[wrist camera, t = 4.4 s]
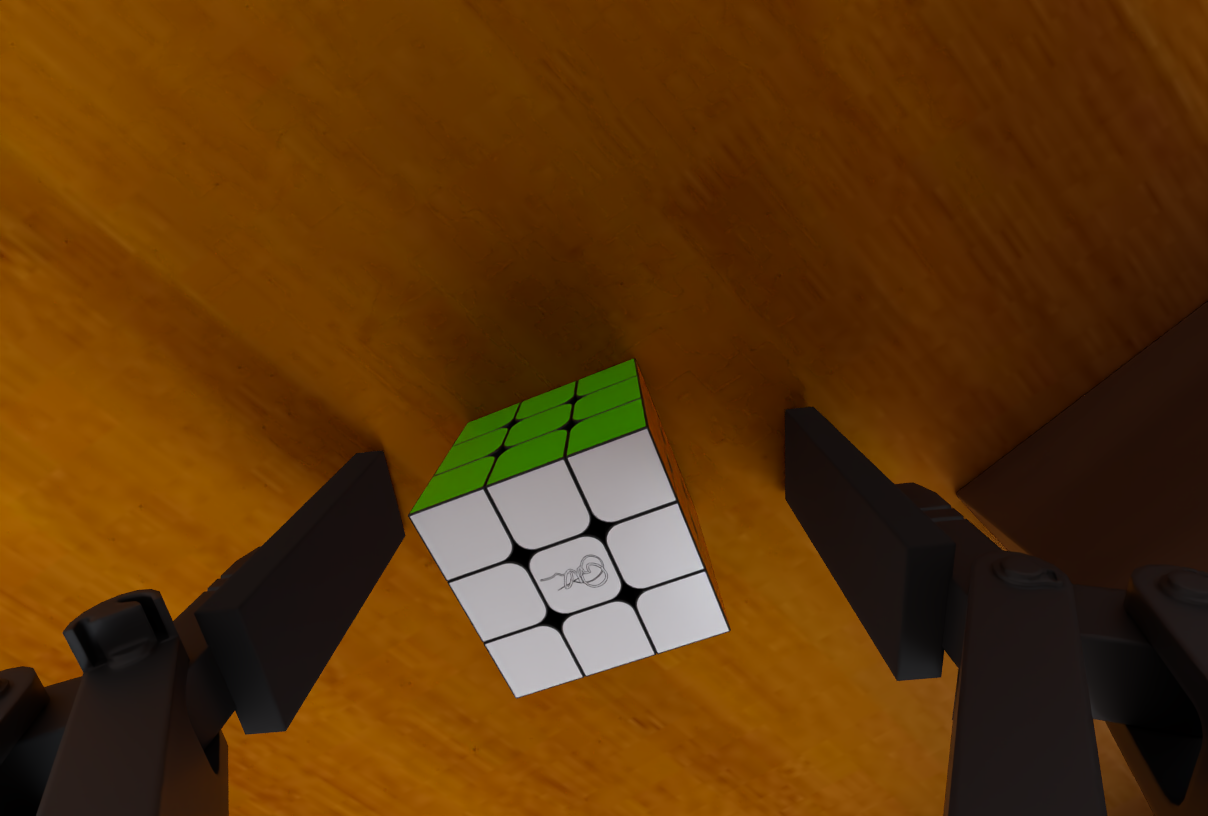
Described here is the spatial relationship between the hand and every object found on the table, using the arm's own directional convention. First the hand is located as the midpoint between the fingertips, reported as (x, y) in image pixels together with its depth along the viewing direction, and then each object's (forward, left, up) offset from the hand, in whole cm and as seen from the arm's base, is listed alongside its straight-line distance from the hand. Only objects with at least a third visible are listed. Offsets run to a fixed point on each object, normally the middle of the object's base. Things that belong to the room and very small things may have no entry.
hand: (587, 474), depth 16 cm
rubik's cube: (0, 0, 0) cm, 0 cm away
